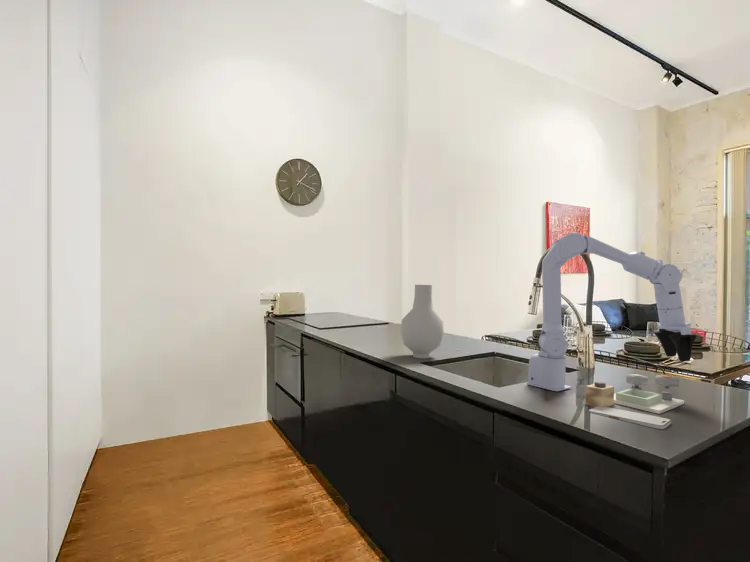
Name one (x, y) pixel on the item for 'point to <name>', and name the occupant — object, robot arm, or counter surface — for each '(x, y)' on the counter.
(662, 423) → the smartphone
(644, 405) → the chassis
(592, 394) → the tan wooden block
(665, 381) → the grey rounded cap
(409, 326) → the vase
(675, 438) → the counter surface
